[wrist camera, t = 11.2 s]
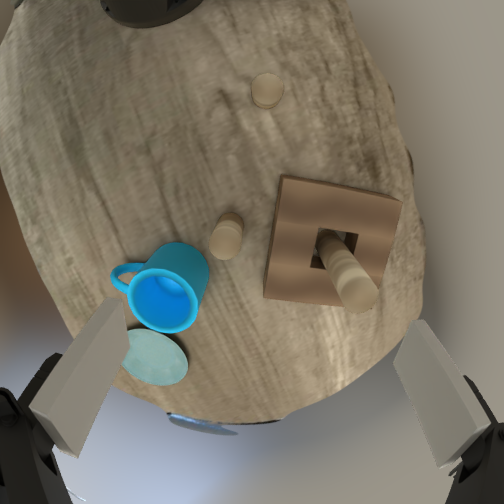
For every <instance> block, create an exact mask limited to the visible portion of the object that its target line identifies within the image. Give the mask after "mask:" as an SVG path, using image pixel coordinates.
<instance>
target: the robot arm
mask: <svg viewBox="0 0 504 504" xmlns="http://www.w3.org/2000/svg"><path fill="white" fill-rule="evenodd" d="M202 1H203V0H100V3H101V5H102V8H103V10H104V11H105V12H106V13H107V15H109V16H110V17H111V18H112V19H114V20H115V21H117V22H118V23H120V24H122V25H124V26H128V27H133V28H148V27H155V26H159V25H163V24H166V23H168V22H171V21H173V20H176V19H178V18H180V17H182V16H183V15H185V14H187V13H188V12H190V11H191V10H193V9H194V8H195V7H196V6H197V5H199V4H200V3H201V2H202ZM129 349H130V343H129V337H128V332H127V327H126V321H125V315H124V309H123V303H122V299H117V298H110V297H107V298H106V299H105V300H104V301H103V303H102V304H101V305H100V307H99V308H98V309H97V310H96V312H95V313H94V314H93V315H92V317H91V318H90V319H89V321H88V322H87V323H86V325H85V326H84V327H83V329H82V330H81V331H80V333H79V334H78V335H77V337H76V338H75V339H74V341H73V342H72V343H71V345H70V346H69V348H68V349H67V350H66V352H65V353H64V355H62V354H59V353H55V354H53V355H52V356H50V357H49V358H47V359H46V360H45V362H44V363H43V364H42V366H41V367H40V370H38V371H37V373H36V374H35V375H34V376H35V377H33V378H32V380H31V381H30V383H29V384H28V386H27V387H26V388H25V390H24V391H23V393H22V394H21V396H20V397H19V399H18V400H16V399H15V397H14V395H13V394H12V393H11V392H10V391H9V390H8V389H6V388H2V387H1V388H0V504H73V503H72V501H71V498H70V496H69V494H68V491H67V489H66V486H65V484H64V481H63V479H62V476H61V473H60V471H59V468H58V465H57V462H56V459H55V456H54V454H53V452H52V448H53V446H54V444H55V445H56V446H57V448H58V449H59V450H60V452H63V453H65V454H68V455H70V456H72V457H75V458H78V457H79V454H80V452H81V450H82V448H83V445H84V443H85V441H86V438H87V436H88V434H89V431H90V429H91V427H92V425H93V423H94V421H95V418H96V416H97V414H98V412H99V410H100V408H101V405H102V403H103V401H104V399H105V397H106V395H107V393H108V391H109V389H110V387H111V385H112V383H113V380H114V378H115V376H116V374H117V372H118V370H119V368H120V366H121V364H122V362H123V360H124V359H125V357H126V355H127V353H128V351H129ZM393 365H394V367H395V369H396V372H397V374H398V376H399V378H400V380H401V382H402V384H403V386H404V388H405V391H406V393H407V395H408V397H409V399H410V402H411V404H412V406H413V408H414V411H415V413H416V415H417V418H418V420H419V422H420V424H421V427H422V429H423V432H424V434H425V436H426V439H427V441H428V444H429V446H430V449H431V451H432V454H433V456H434V459H435V462H436V464H437V467H438V469H439V468H442V467H445V466H448V465H451V464H453V463H454V462H455V461H456V460H457V459H458V458H459V457H460V456H461V458H462V460H463V461H462V462H461V463H460V464H459V465H457V466H456V467H455V468H454V469H453V470H452V471H451V472H450V474H449V476H451V475H452V474H453V473H455V472H456V471H457V472H456V475H455V476H454V481H453V484H452V487H451V490H450V492H449V495H448V498H447V500H446V503H445V504H504V423H498V422H497V420H496V418H495V417H494V415H493V413H492V411H491V410H490V408H489V406H488V405H487V403H486V401H485V400H484V399H483V397H482V395H481V394H480V392H479V390H478V389H477V387H476V386H475V384H474V382H473V381H471V380H470V379H469V378H468V377H467V376H466V375H464V376H463V375H462V374H461V372H460V371H459V369H458V368H457V366H456V365H455V363H454V362H453V360H452V359H451V357H450V356H449V354H448V353H447V351H446V350H445V349H444V347H443V346H442V344H441V343H440V342H439V340H438V339H437V337H436V336H435V334H434V333H433V332H432V330H431V329H430V327H429V326H428V325H427V324H426V322H425V321H424V320H411V323H410V325H409V328H408V330H407V332H406V335H405V337H404V340H403V342H402V344H401V346H400V349H399V351H398V353H397V355H396V358H395V360H394V362H393Z"/></svg>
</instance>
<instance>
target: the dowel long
mask: <svg viewBox="0 0 504 504" xmlns="http://www.w3.org/2000/svg"><path fill="white" fill-rule="evenodd" d="M315 248H316V250H317V252H318V254H319V256H320V258H321V260H322V262H323V264H324V266H325V268H326V270H327V272H328V274H329V276H330V278H331V280H332V282H333V284H334V286H335V288H336V290H337V292H338V295H339V297H340V299H341V301H342V303H343V305H344V307H345V309H346V310H347V311H349V312H351V313H354V314H360V313H364V312H366V311H368V310H369V309H371V308H372V307H373V306H374V305H375V303H376V301H377V299H378V289H377V287H376V285H375V284H374V282H373V281H372V280H371V278H370V277H369V276H368V274H367V273H366V272H365V270H364V269H363V268H362V266H361V265H360V264H359V262H358V261H357V260H356V258H355V257H354V256H353V255H352V253H351V252H350V251H349V249H348V248H347V247H346V246H345V244H344V243H343V242H342V240H341V239H340V238H339V237H338V235H337V234H336V233H335V232H333V231H331V230H324V231H321V232H320V233H319V234H318V235H317V237H316V242H315Z"/></svg>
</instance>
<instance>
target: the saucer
mask: <svg viewBox="0 0 504 504" xmlns="http://www.w3.org/2000/svg"><path fill="white" fill-rule="evenodd" d="M127 332H128V337H129V343H130V349H129V351H128V353H127V355H126V357H125V359H124V360H123V362H122V365H123V367H124V368H125V369H126V370H127V371H128V372H129V373H130V374H132V375H133V376H135V377H136V378H138V379H140V380H142V381H144V382H147V383H150V384H154V385H171V384H175V383H177V382H179V381H180V380H182V379H183V378H184V376H185V375H186V373H187V370H188V362H187V358H186V356H185V354H184V352H183V351H182V350H181V348H180V347H179V346H178V345H177V344H176V343H175V342H174V341H172V340H171V339H170V338H168V337H167V336H165V335H163V334H161V333H158V332H156V331H152V330H148V329H133V330H129V331H127Z"/></svg>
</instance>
